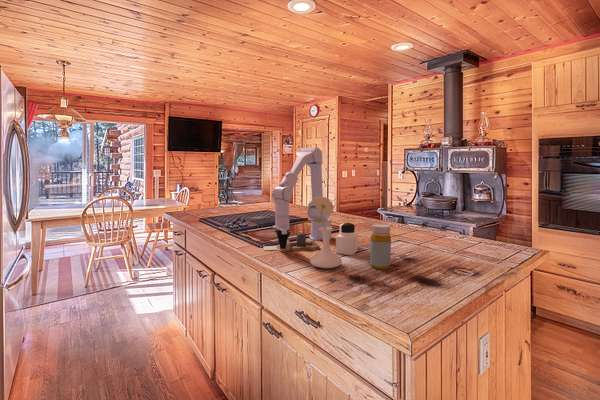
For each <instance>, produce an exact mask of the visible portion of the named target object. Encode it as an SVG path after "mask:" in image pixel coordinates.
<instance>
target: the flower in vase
mask: <svg viewBox="0 0 600 400" xmlns="http://www.w3.org/2000/svg"><path fill="white" fill-rule="evenodd" d="M314 200H315V201H314V202H315V203H314V205H315V206H316V208H317V209H318V210H319V211H320V212H321V214H322V212H323V213H324V214H328V213H329V214H330V215H331V214H333V213H334V211H335V210H334V209H335V205H334V204H333V201H331V200H330V199H329V198H327V197H326V196H323V197H322V196H318V197H317V198H316V199H314ZM321 214H320V219H319V218H318V217H315V218H314V220H313V221H315V222H318V223H320V222H322V220H321ZM329 220H330V221H327V222H326V223H325V224H327V223H329V222H331V223H332V221H333V219H329ZM322 224H323V222H322ZM323 226H324V224H323ZM319 229H320V230H321V232H322V236H323V240H322V248H321V249H320V250H319V251H317V253H315V254H314V255H313V256H312V257H311V258H310V259H309V263H310V264H311V265H312V266H314V267H316V268H320V269H333V268H337V267H340V266H341V265H342V263H343V260H342V258H341V257H340V256H339V254H338V255H337V253H336V252H334V251H333V250H332V249H331V246H330V240H331V239H330V234H331V235H332V232H333V230H334V228H333V227H332V226H331V227H325V226H324V227H320V228H319Z"/></svg>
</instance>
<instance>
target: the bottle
mask: <svg viewBox="0 0 600 400" xmlns="http://www.w3.org/2000/svg"><path fill="white" fill-rule="evenodd" d="M369 244H370V245H369V246H370V248H369V251H370V254H369V265H370V267H371V268H373V269H375V270H380V271H381V270H388V269H389V268H390V267H391V255H392V254H391V253H392V252H391V250H392V248H391V247H392V237H391V225H390V224H387V223H372V225H371V236H370V242H369Z"/></svg>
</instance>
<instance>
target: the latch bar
mask: <svg viewBox="0 0 600 400" xmlns="http://www.w3.org/2000/svg"><path fill="white" fill-rule="evenodd" d="M290 242H291V241H290V240H289V239H288V240H287V244H286V249H281V248H280V244H279V243H278V246H279V252H286V251H291V246H290Z"/></svg>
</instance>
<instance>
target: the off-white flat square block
mask: <svg viewBox="0 0 600 400" xmlns="http://www.w3.org/2000/svg"><path fill="white" fill-rule="evenodd" d="M262 248H263V251H264V252H268V251H278V247H277V245H268V246H267V245H266V246H263V247H262Z"/></svg>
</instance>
